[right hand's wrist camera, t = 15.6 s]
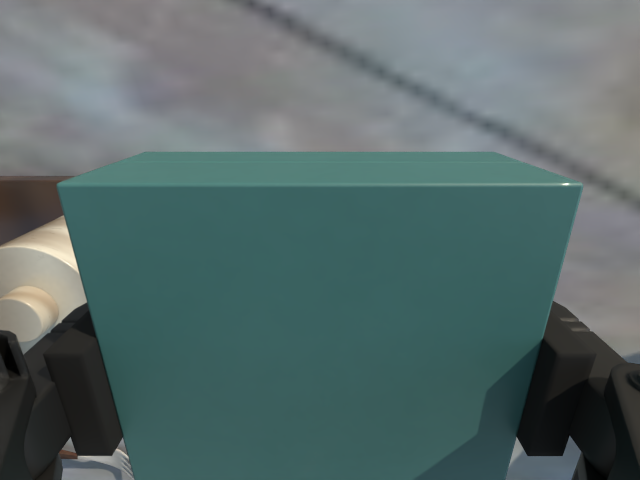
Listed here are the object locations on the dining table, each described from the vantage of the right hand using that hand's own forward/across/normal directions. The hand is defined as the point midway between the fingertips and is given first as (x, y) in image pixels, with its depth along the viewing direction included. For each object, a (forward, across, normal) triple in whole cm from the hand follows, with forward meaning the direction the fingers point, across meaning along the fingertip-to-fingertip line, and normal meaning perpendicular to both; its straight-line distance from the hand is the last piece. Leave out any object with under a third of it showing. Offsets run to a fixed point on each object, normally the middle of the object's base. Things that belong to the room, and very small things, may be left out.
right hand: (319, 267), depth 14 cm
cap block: (-3, 0, 0) cm, 3 cm away
